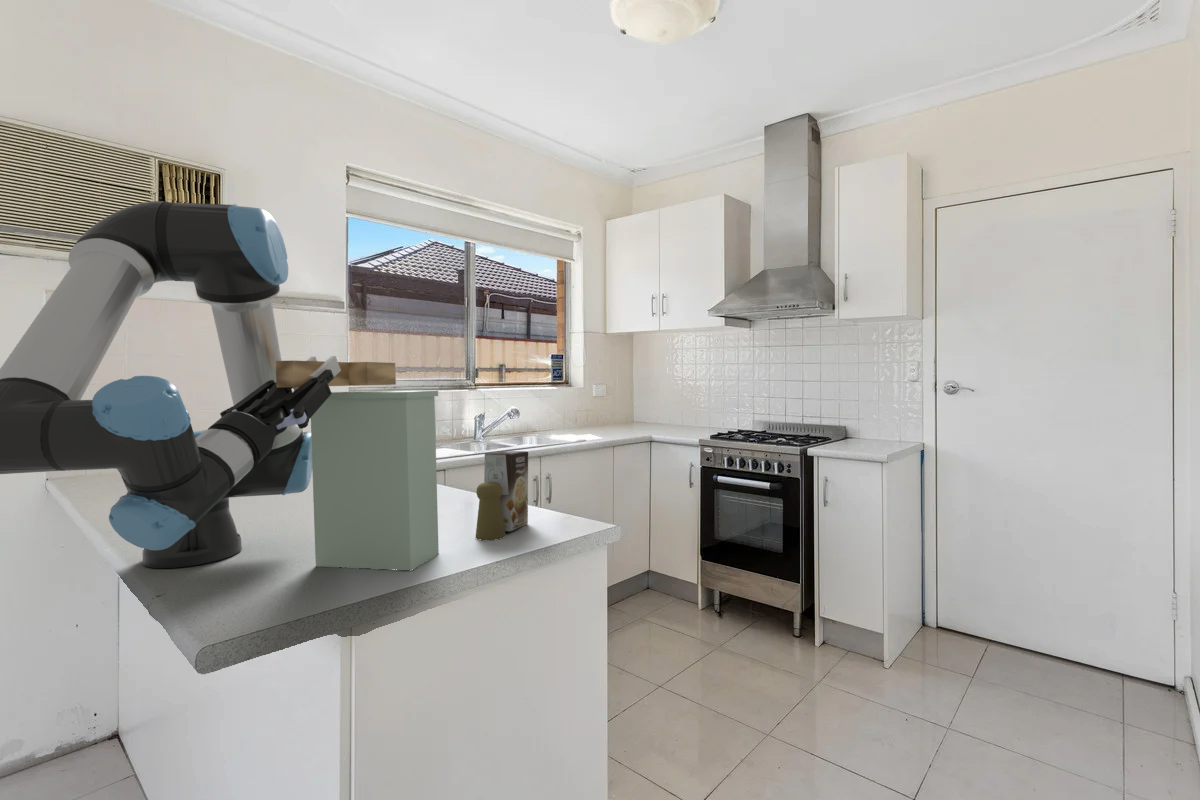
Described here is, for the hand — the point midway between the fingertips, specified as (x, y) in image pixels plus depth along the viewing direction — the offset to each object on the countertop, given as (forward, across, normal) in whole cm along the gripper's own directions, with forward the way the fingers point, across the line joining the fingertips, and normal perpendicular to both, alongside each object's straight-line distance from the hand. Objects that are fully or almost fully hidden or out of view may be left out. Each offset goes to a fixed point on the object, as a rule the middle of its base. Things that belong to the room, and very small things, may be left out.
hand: (326, 363), depth 98 cm
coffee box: (+10, +19, -46) cm, 51 cm away
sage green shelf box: (-11, +4, -34) cm, 36 cm away
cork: (+4, +18, -43) cm, 47 cm away
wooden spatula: (0, 0, -4) cm, 4 cm away
